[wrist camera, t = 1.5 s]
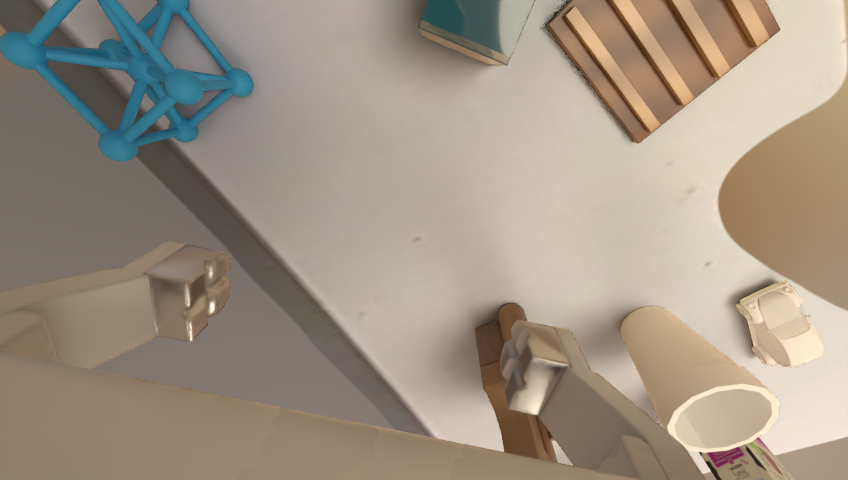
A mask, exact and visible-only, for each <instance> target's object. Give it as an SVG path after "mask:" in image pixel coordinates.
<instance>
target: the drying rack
mask: <svg viewBox="0 0 848 480" xmlns="http://www.w3.org/2000/svg"><path fill="white" fill-rule="evenodd" d="M546 27H547V28H548V29H549V31H550V32H551V33H552V35H553V36H554V37H555V39H556V40H557V41H558V42H559V44H560V45H561V46H562V48H563V49H564V50H565V52H566V53H567V54H568V56H569V57H570V58H571V60H572V61H573V62H574V64H575V65H576V66H577V67H578V69H579V70H580V71H581V73H582V74H583V75H584V77H585V78H586V79H587V81H588V82H589V83H590V85H591V86H592V87H593V88H594V90H595V91H596V92H597V94H598V95H599V96H600V98H601V99H602V100H603V102H604V103H605V104H606V106H607V107H608V108H609V109H610V111H611V112H612V113H613V115H614V116H615V117H616V119H617V120H618V121H619V123H620V124H621V125H622V127H623V128H624V129H625V131H626V132H627V133H628V134H629V136H630V137H631V138H632V140H633V141H634V142H635V143H640V142H641V141H642V140H644V139H645V138H646V137H647V136H649V135H650V134H651V133H652V132H654V131H655V130H656V129H657V128H659V127H660V126H661V125H662V124H664V123H665V122H666V121H667V120H669V119H670V118H671V117H672V116H674V115H675V114H676V113H677V112H679V111H680V110H681V109H682V108H684V107H685V106H686V105H687V104H689V103H690V102H691V101H692V100H694V99H695V98H696V97H697V96H699V95H700V94H701V93H702V92H704V91H705V90H706V89H707V88H709V87H710V86H711V85H712V84H714V83H715V82H716V81H717V80H719V79H720V78H721V77H722V76H724V75H725V74H726V73H727V72H729V71H730V70H731V69H732V68H734V67H735V66H736V65H737V64H739V63H740V62H741V61H742V60H743V59H745V58H746V57H747V56H748V55H750V54H751V53H752V52H753V51H755V50H756V49H757V48H758V47H760V46H761V45H762V44H763V43H765V42H766V41H767V40H768V39H770V38H771V37H772V36H773V35H775V34H776V33H777V32H778V31H780V28H779V26H778V24H777V22H776V20H775V18H774V16H773V14H772V13H771V11H770V9H769V7H768V5H767V3H766V1H765V0H570V1H569V2H568V3H567V4H566V5H565V6H564V7H563V8H562V9H561V10H560V11H559V12H558V13H557V14H556V15H555V16H554V18H553V19H552V20H551V21H550V22H549V23H548V24H547V25H546Z"/></svg>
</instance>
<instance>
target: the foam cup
mask: <svg viewBox="0 0 848 480" xmlns="http://www.w3.org/2000/svg"><path fill="white" fill-rule="evenodd" d="M620 332H621V335H622V338H623V340H624V343H625V345H626V347H627V349H628V351H629V354H630V356H631V358H632V360H633V362H634V364H635V366H636V369H637V371H638V373H639V375H640V377H641V379H642V381H643V384H644V386H645V388H646V390H647V392H648V394H649V396H650V399H651V401H652V403H653V405H654V409H655V412H656V415H657V418H658V420H659V422H660V423H661V425H662V426H663V428H664V430H666V431H667V432H668V433H669V434H670V435H672V436H673V437H674V438H675V439H676V440H677V441H679V442H680V443H681V444H682V445H683V446H684V447H685V448H686V450H692V451H697V452H703V453H707V452H717V451H727V450H730V449H733V448H736V447H739V446H742V445H744V444H747V443H750V442H752V441H753V440H755V439H756V438H758V437H759V436H761V435H762V434H763V433H765V432H766V431H768V430H769V429H770V428H771V426H772V425H773V423H774V422H775V420H776V419H777V417H778V416H779V401H778V398H777V397H776V396H775V395H774V394H773V393H772V392H771V391H770V390H768V389H767V388H766V387H765V386H764V385H763V384H762V383H761V382H760V381H759V380H758V379H757V378H756V377H755V376H754V375H753V374H751V373H750V372H749V371H748V370H747V369H746V368H744V367H741V366H738V365H737V364H736V363H734V362H733V361H732V360H731V359H729V358H728V357H727V356H726V355H724V354H723V353H722V352H720V351H719V350H718V349H717V348H715V347H714V346H713V345H711V344H710V343H709V342H708V341H706V340H705V339H704V338H702V337H701V336H700V335H699V334H697V333H696V332H695V331H694V330H692V329H691V328H690V327H688V326H687V325H686V324H685V323H683V322H682V321H681V320H679V319H678V318H677V317H676V316H674V315H673V314H672V313H670V312H669V311H667V310H666V309H665V308H662V307H657V306H649V307H643V308H640V309H638V310H636V311H634V312H632V313H630V314H629V315H628V316H627V317H626V318H625V320H624V321H623V322H622V325H621V329H620Z"/></svg>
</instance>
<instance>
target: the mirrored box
mask: <svg viewBox="0 0 848 480" xmlns="http://www.w3.org/2000/svg"><path fill="white" fill-rule="evenodd" d="M534 2H535V0H427V1H426V4H425V7H424V11H423V14H422V17H421V20H420V24H419V27H418V28H419V30H420V32H421V34H422V36H423V37H424V38H426V39H429V40H431V41H434V42H436V43H438V44H441V45H443V46H445V47H448V48H450V49H453V50H455V51H457V52H460V53H462V54H464V55H467V56H469V57H472V58H474V59H476V60H479V61H481V62H483V63H486V64H488V65H491V66H502V65H508V63H509V60H510V58H511V56H512V53H513V51H514V49H515V46H516V44H517V42H518V39H519V37H520V34H521V32H522V30H523V27H524V25H525V23H526V20H527V18H528V16H529V13H530V11H531V9H532V6H533V4H534Z"/></svg>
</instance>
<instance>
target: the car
mask: <svg viewBox="0 0 848 480" xmlns="http://www.w3.org/2000/svg"><path fill="white" fill-rule="evenodd" d="M739 302H740V303H738V304H736V307H737V309H738V310H739V312H740V313H741V314H742V315H743V316H744V317H745V318H747V322H748V326H749V330H750V334H751V338H752V342H753V346H754V347H752V351H753V352H754V354H755V355H756V356H757V357H758V358H759V359H760V360H761V361H762V363H763V364H765V365H771V366H773V365H775V364H780V365H782V366H783V367H795V366H797V365H801V364H804V363H806V362H808V361H811V360H813V359H816V358H818V357H820V356H822V355H824V348H823V343H822V341H821V339H820V337H819V335H818V333H817V332H816V330H815V329H814V327H813V326H812V325H811V324H810V323H809V322H808V321H807V319H806V318H809V317H810V315H808V316H803V315H802V313H801V312H800V310H799V308H798V307H799V306H801V304H802V302H801V299H800V297H799V295H798V294H797V292H796V291H795V290H794V289H793V287H792V286H791V285H790V283H789V282H787V281H786V280H784V281H781V282H778V283H776V284H773V285H771V286H768V287H766V288H764V289H762V290H760V291H757V292H755V293H753V294H751V295H749V296H747V297H745V298H743V299H741V300H740V301H739ZM805 317H806V318H805Z"/></svg>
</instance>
